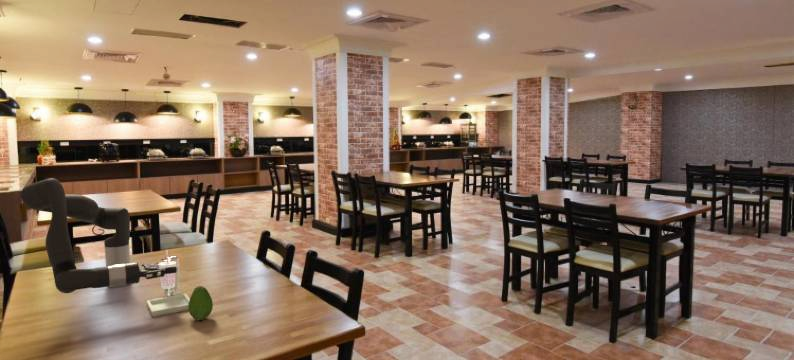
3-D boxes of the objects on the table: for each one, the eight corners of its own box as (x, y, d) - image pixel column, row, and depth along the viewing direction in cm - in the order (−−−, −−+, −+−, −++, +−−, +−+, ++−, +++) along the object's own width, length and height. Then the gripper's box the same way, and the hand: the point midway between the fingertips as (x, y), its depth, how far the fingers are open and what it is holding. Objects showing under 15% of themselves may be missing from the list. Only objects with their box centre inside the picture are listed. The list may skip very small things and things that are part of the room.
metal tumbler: (173, 298, 194) (171, 261, 193) (158, 297, 196) (155, 260, 194) (184, 292, 201) (182, 256, 200) (169, 291, 203) (167, 255, 201)
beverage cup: (159, 290, 179) (157, 252, 178) (158, 285, 185) (157, 249, 183) (177, 288, 182) (176, 250, 181) (176, 283, 187) (175, 247, 186)
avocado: (198, 325, 167) (197, 290, 166) (184, 320, 171) (182, 287, 170) (218, 317, 174) (216, 284, 173) (204, 313, 178) (202, 281, 177)
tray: (146, 305, 186) (146, 300, 186) (186, 298, 194) (185, 293, 194) (152, 317, 175) (151, 311, 175) (193, 309, 183) (193, 303, 182)
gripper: (125, 268, 169) (178, 261, 178) (121, 259, 180) (171, 253, 190) (126, 289, 169) (178, 282, 178) (122, 279, 181) (171, 272, 190)
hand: (174, 267), depth 184 cm, fingers closed on beverage cup, 6 cm apart
